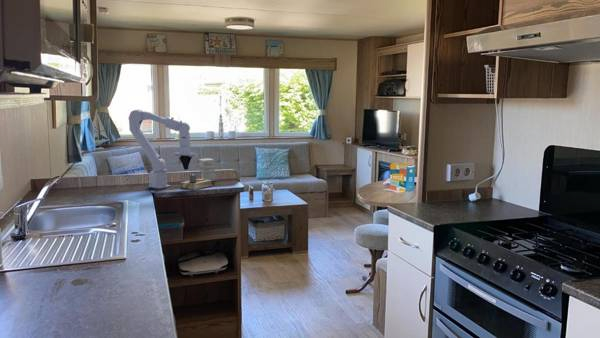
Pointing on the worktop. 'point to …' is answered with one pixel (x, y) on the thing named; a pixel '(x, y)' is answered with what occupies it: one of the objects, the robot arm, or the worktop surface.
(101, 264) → the worktop surface
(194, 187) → the hitch block
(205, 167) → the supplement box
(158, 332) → the worktop surface
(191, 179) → the steel peg
